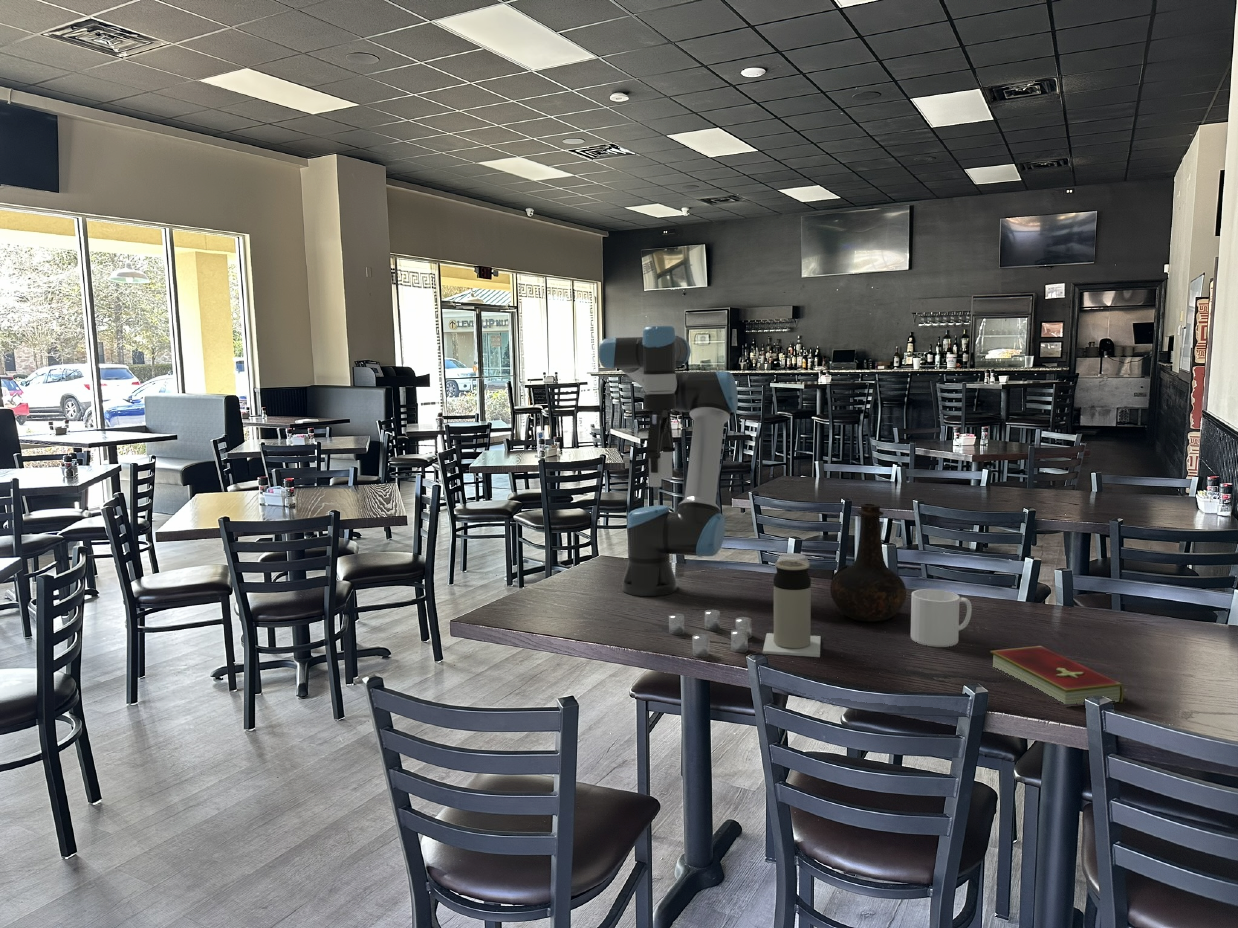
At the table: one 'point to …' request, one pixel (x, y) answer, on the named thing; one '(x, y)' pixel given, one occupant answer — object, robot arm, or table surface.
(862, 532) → the glass bottle
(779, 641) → the travel mug
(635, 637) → the table surface
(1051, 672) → the hardcover book
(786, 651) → the rubber mat
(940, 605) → the mug
